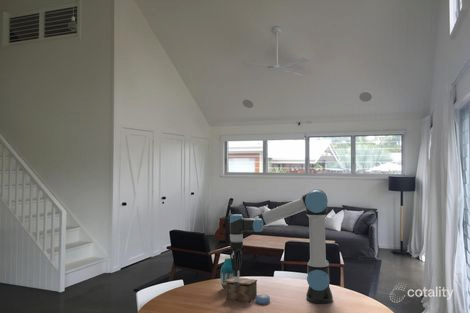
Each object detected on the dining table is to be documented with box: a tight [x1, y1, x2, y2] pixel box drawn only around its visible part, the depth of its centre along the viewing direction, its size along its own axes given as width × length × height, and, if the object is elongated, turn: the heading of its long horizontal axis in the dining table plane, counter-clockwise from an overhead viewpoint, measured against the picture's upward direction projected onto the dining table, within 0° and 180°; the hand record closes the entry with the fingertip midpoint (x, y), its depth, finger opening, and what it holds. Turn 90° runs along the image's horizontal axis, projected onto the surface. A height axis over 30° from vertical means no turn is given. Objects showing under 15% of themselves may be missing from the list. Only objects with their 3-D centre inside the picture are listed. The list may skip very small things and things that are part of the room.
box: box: [225, 281, 258, 303], centre depth 218 cm, size 15×11×9 cm
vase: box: [220, 257, 234, 290], centre depth 234 cm, size 11×11×19 cm
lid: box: [225, 277, 258, 287], centre depth 217 cm, size 16×13×2 cm
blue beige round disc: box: [255, 294, 271, 305], centre depth 211 cm, size 8×8×3 cm
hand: (236, 281), depth 212 cm, fingers closed
